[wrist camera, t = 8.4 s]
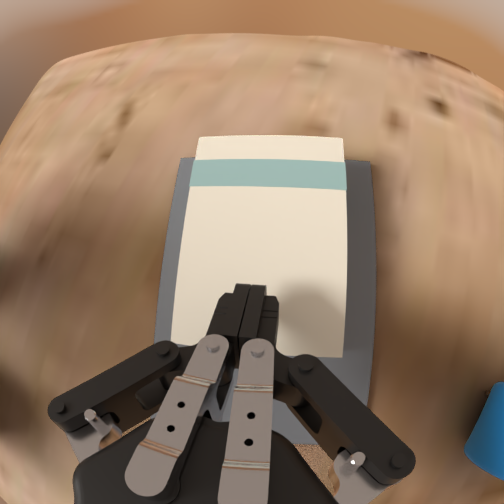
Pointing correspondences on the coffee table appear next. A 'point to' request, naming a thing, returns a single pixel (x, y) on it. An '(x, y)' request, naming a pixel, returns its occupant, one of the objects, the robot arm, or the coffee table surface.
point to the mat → (357, 293)
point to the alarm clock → (489, 435)
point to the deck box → (267, 237)
